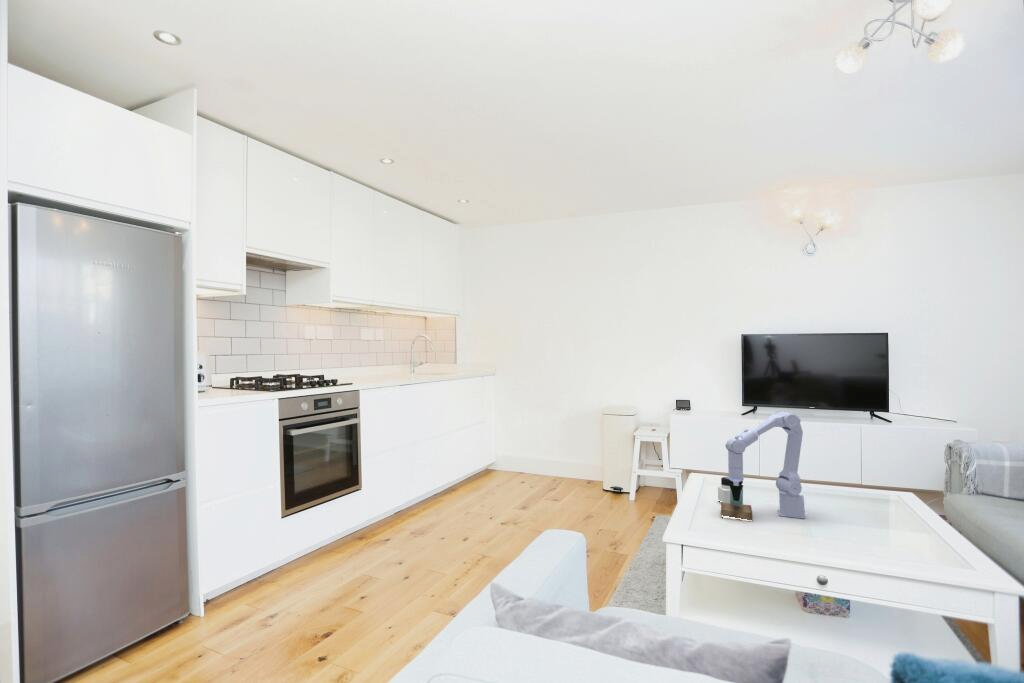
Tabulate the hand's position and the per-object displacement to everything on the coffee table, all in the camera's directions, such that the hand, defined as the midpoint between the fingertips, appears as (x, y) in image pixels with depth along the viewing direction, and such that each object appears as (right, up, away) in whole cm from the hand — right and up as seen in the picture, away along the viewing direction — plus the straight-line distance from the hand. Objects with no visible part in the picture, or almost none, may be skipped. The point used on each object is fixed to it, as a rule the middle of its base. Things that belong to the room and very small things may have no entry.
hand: (736, 499), depth 220 cm
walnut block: (0, -8, 0) cm, 8 cm away
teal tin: (0, -2, 0) cm, 2 cm away
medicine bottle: (+4, -8, +18) cm, 21 cm away
